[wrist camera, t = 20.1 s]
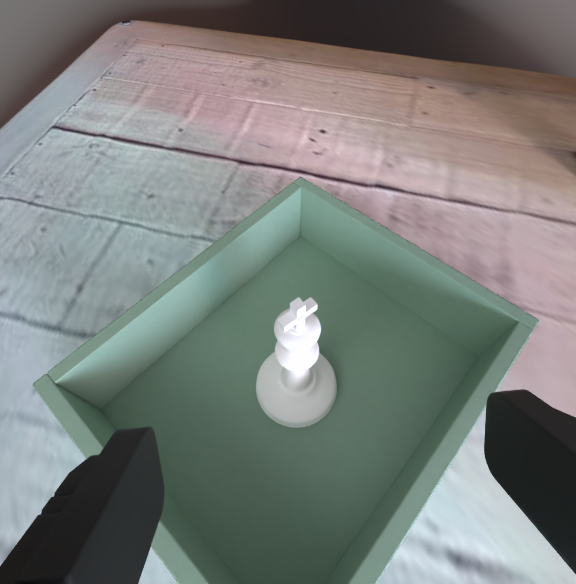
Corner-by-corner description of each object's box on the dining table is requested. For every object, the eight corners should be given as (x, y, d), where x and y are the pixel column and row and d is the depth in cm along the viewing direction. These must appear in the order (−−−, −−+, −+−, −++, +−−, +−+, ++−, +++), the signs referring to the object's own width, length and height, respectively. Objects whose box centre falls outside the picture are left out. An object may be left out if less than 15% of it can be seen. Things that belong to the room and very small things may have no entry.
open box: (299, 232, 30) (300, 175, 25) (489, 361, 24) (540, 319, 19) (87, 414, 23) (30, 384, 18) (288, 668, 17) (286, 730, 12)
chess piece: (240, 378, 23) (209, 294, 14) (302, 334, 24) (307, 234, 16) (288, 446, 21) (285, 394, 12) (353, 393, 22) (390, 313, 14)
